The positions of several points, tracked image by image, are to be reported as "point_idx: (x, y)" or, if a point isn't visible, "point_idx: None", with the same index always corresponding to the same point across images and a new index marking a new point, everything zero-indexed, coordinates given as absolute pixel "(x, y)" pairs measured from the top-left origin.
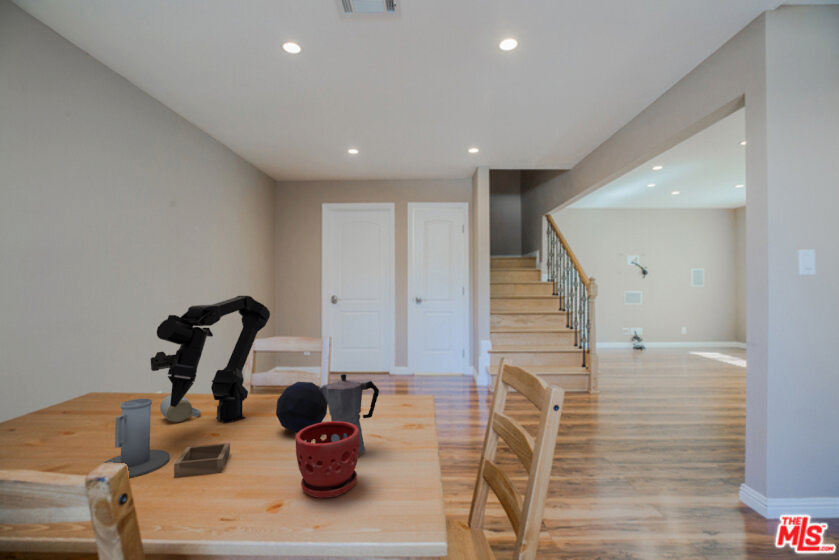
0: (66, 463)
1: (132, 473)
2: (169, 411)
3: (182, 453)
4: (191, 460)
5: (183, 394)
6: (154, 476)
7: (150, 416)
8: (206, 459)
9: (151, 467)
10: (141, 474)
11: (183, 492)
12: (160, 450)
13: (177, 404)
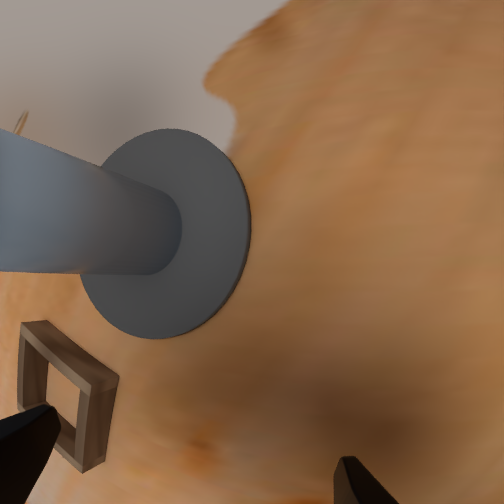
0: (298, 37)
1: None
2: None
3: (56, 357)
4: (22, 359)
5: (22, 499)
6: (66, 282)
7: (4, 271)
8: (20, 386)
9: (84, 277)
10: None
11: (8, 320)
12: (199, 316)
13: (335, 493)
